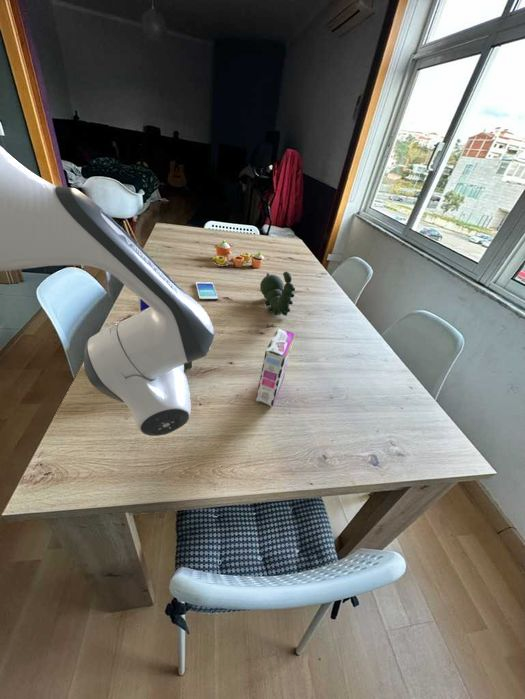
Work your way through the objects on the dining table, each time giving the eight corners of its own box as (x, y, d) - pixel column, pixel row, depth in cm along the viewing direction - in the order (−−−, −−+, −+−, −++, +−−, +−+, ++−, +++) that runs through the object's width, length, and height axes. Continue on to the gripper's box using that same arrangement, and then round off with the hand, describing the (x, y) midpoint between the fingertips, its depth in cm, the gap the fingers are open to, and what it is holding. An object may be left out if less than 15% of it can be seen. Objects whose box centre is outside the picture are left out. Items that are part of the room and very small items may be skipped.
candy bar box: (273, 407, 74) (285, 357, 64) (255, 401, 75) (264, 350, 65) (284, 380, 83) (296, 332, 73) (267, 375, 84) (277, 327, 74)
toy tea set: (212, 267, 142) (213, 247, 136) (211, 255, 154) (211, 237, 148) (264, 270, 148) (267, 251, 142) (259, 259, 160) (261, 241, 154)
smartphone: (199, 298, 113) (195, 281, 124) (199, 300, 113) (195, 283, 124) (218, 298, 115) (212, 282, 126) (218, 300, 115) (212, 283, 127)
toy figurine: (293, 325, 111) (274, 290, 129) (305, 281, 99) (283, 249, 116) (269, 326, 109) (253, 290, 126) (279, 280, 96) (260, 248, 114)
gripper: (213, 340, 57) (199, 305, 67) (93, 351, 49) (98, 310, 59) (211, 365, 60) (199, 328, 70) (100, 378, 53) (104, 336, 63)
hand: (152, 320), depth 65 cm, fingers open, 8 cm apart
